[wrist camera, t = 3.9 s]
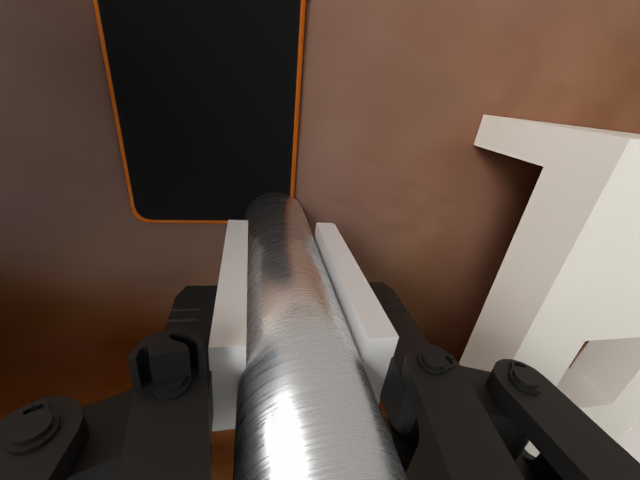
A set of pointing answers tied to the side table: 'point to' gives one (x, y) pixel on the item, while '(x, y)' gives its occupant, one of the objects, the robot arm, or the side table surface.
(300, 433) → the tall steel pin
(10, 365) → the side table surface
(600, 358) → the white bench
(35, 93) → the side table surface
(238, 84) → the smartphone
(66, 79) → the side table surface
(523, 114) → the side table surface
